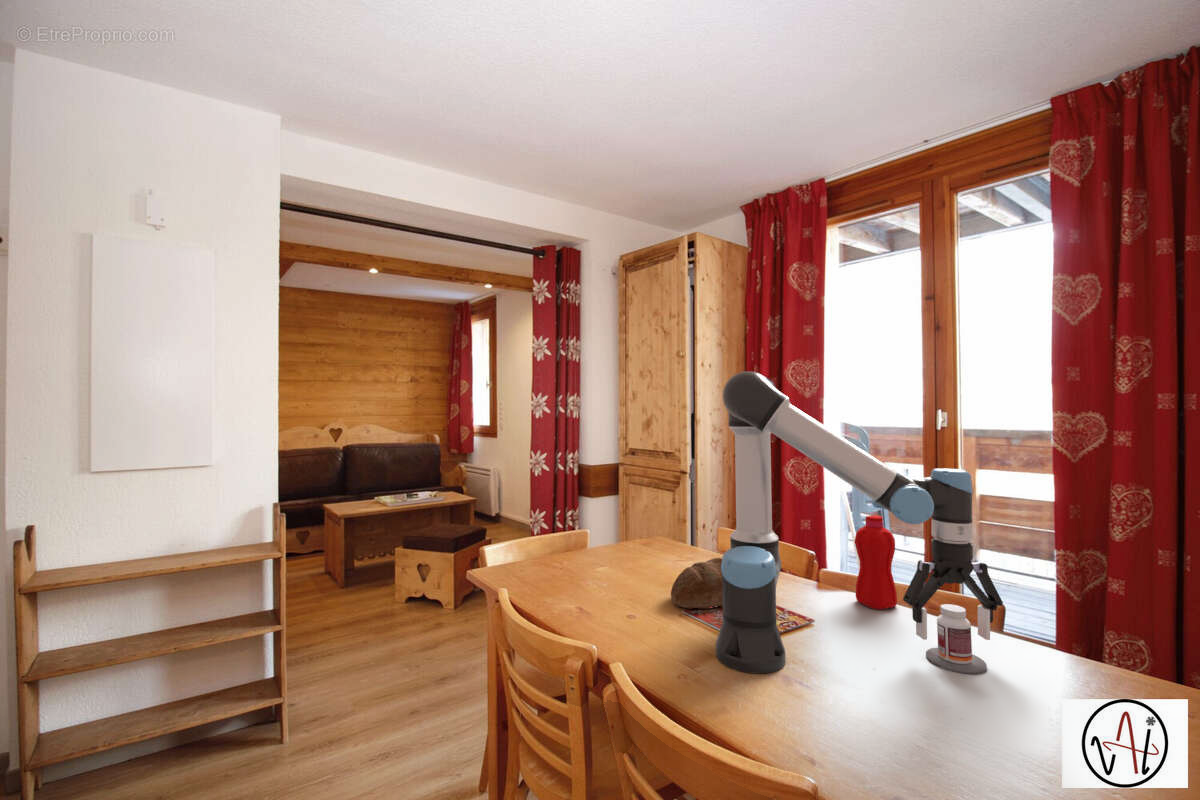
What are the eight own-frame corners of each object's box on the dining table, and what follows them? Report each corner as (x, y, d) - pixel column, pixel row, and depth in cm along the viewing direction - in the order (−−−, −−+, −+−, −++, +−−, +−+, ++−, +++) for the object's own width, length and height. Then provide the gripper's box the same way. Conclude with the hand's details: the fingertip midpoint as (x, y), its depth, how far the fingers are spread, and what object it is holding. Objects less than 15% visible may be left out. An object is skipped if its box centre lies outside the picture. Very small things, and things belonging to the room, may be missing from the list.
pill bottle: (977, 660, 114) (975, 609, 115) (964, 668, 111) (962, 615, 111) (946, 649, 120) (944, 600, 120) (932, 657, 116) (931, 606, 116)
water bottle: (871, 595, 157) (868, 510, 157) (902, 607, 146) (900, 517, 147) (846, 598, 154) (844, 512, 155) (876, 612, 144) (874, 520, 144)
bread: (769, 596, 158) (768, 558, 158) (695, 617, 142) (694, 575, 142) (730, 582, 171) (729, 547, 171) (659, 600, 155) (658, 561, 156)
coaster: (946, 674, 110) (946, 671, 110) (915, 650, 121) (915, 647, 121) (999, 673, 110) (999, 670, 110) (963, 649, 121) (963, 647, 121)
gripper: (904, 544, 112) (905, 644, 112) (1022, 544, 112) (1023, 645, 112) (885, 535, 120) (886, 629, 119) (996, 535, 119) (997, 630, 119)
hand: (952, 637), depth 116 cm, fingers open, 13 cm apart
